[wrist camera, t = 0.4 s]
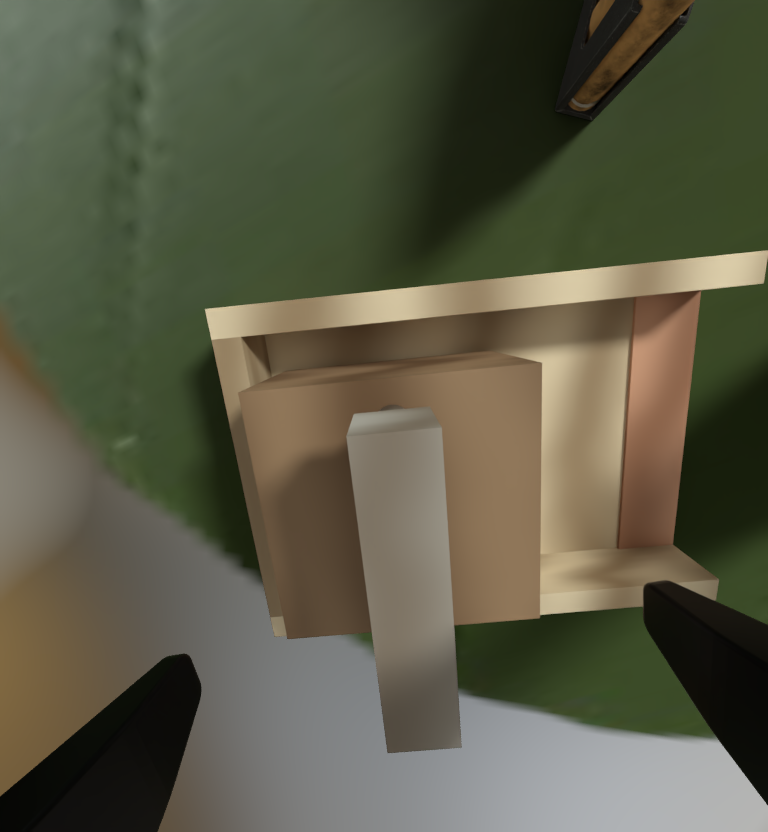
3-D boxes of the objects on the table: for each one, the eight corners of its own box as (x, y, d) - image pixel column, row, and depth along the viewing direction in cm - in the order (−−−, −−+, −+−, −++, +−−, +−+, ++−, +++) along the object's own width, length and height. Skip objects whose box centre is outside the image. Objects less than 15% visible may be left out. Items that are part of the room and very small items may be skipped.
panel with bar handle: (489, 350, 17) (637, 384, 7) (494, 532, 20) (610, 750, 10) (285, 370, 18) (153, 431, 7) (315, 548, 20) (245, 777, 10)
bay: (683, 266, 18) (768, 250, 14) (655, 550, 22) (715, 600, 18) (243, 312, 18) (204, 309, 14) (293, 582, 22) (274, 637, 18)
